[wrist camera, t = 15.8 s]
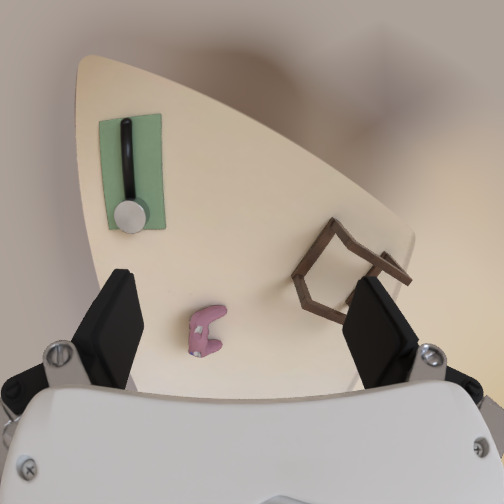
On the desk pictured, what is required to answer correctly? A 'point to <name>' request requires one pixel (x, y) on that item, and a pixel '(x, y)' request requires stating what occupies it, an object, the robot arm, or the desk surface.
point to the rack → (379, 262)
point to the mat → (145, 167)
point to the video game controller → (204, 331)
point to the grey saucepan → (129, 187)
